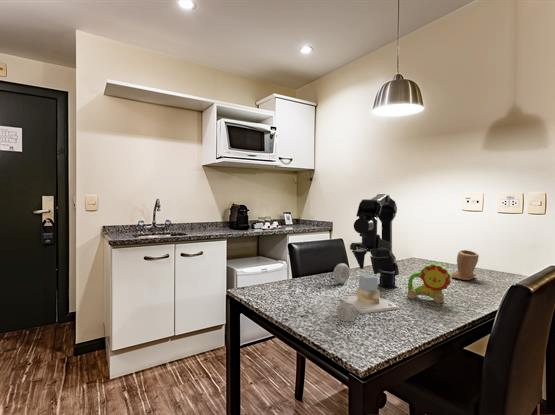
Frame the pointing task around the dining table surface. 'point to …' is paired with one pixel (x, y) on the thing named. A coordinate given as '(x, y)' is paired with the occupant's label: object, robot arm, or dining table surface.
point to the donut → (338, 270)
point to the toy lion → (430, 282)
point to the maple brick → (368, 296)
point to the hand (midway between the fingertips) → (368, 271)
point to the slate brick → (368, 282)
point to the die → (346, 312)
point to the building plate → (364, 308)
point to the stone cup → (466, 265)
